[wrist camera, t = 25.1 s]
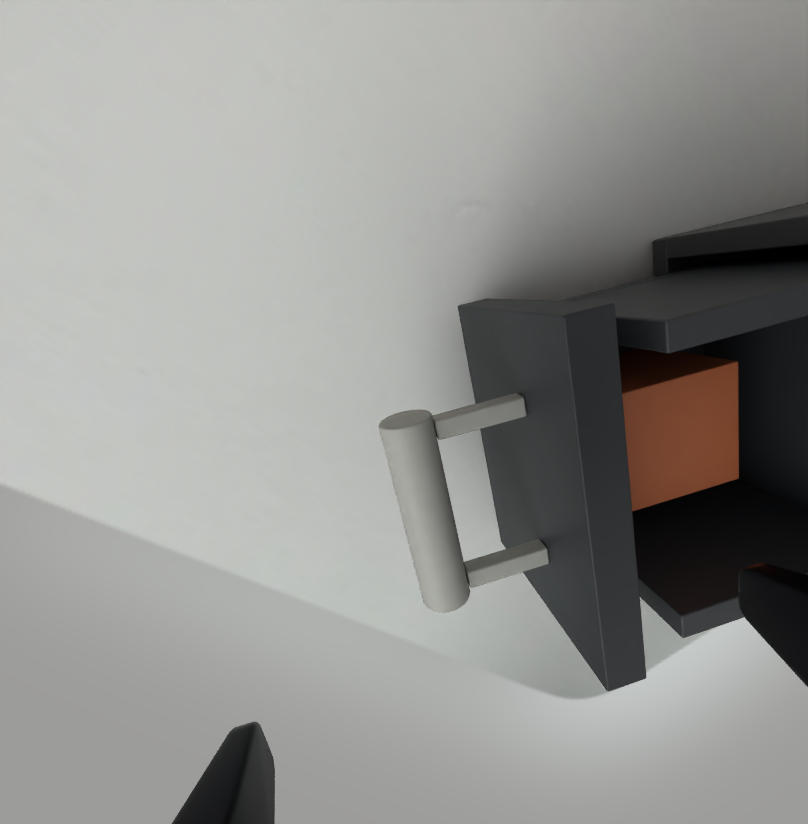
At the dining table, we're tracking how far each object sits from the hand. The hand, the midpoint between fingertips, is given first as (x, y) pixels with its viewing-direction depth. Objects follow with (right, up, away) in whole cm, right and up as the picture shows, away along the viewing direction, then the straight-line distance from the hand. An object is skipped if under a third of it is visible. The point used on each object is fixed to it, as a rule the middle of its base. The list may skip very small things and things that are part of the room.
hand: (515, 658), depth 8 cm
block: (+6, +5, +10) cm, 12 cm away
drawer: (+4, +4, +11) cm, 12 cm away
